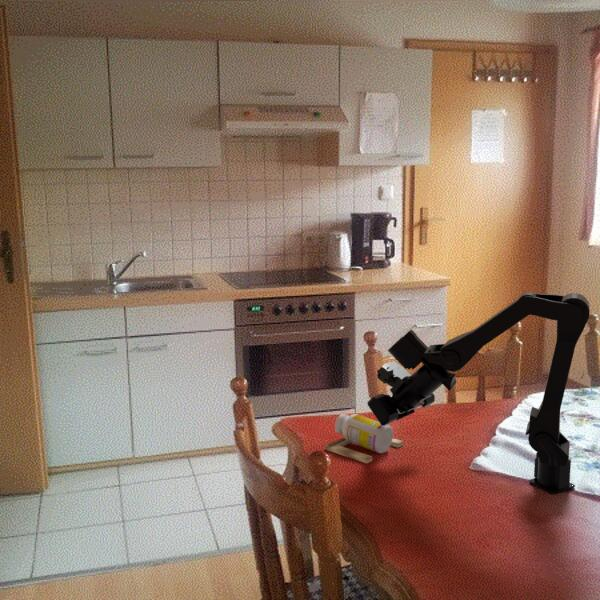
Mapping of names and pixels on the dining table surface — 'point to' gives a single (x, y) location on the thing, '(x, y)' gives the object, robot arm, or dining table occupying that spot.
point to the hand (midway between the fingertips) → (380, 420)
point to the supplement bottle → (365, 432)
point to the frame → (340, 449)
